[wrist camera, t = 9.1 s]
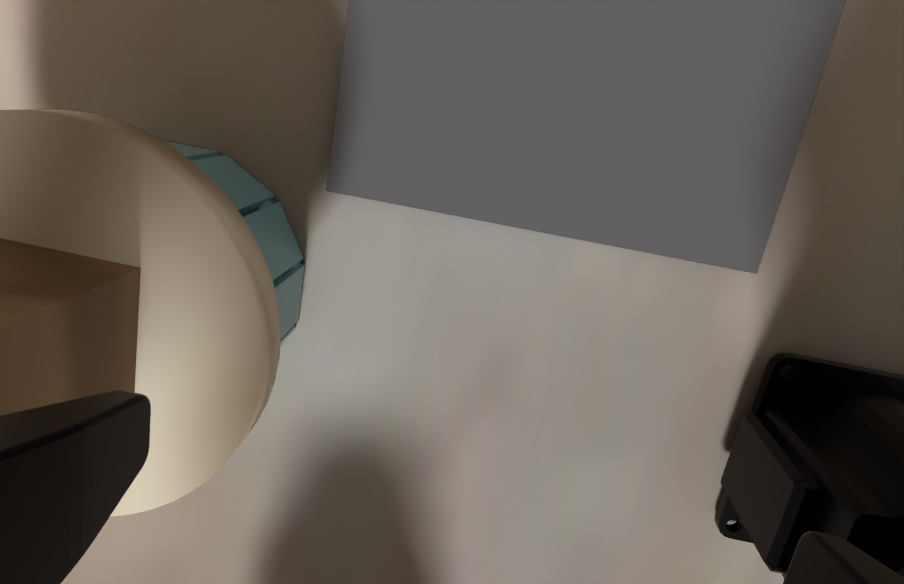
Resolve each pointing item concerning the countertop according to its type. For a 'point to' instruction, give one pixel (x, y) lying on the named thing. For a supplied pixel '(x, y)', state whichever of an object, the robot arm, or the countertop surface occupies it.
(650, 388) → the countertop surface
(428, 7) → the rubber mat
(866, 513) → the robot arm
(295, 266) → the ceramic bowl
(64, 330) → the wooden lid
